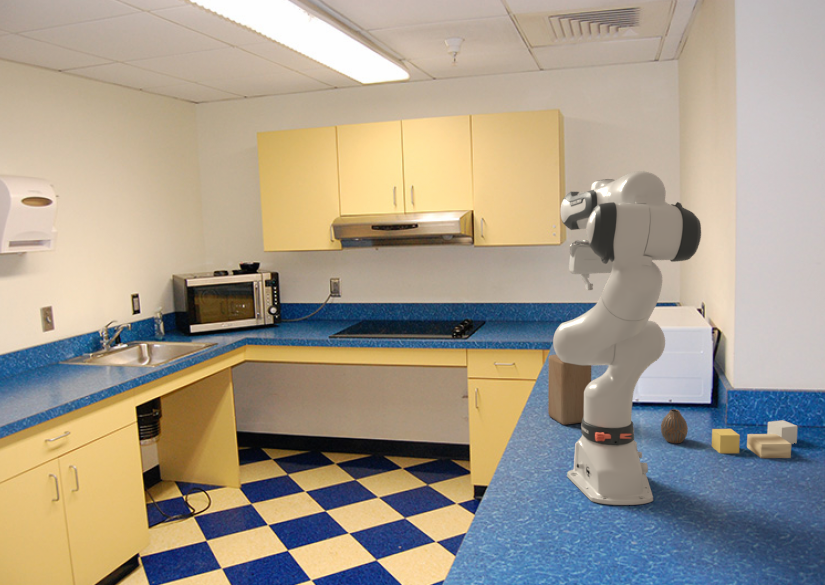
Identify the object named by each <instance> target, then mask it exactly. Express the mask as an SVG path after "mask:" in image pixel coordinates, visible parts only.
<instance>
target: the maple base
mask: <svg viewBox="0 0 825 585" xmlns="http://www.w3.org/2000/svg"><path fill="white" fill-rule="evenodd" d="M746 435H747V438H746V439H747V440H746V448H747V449H748V450H750V451H751V452H752V453H754V454H755V455H756V456H758V457H759V458H760V459H791V458H792V455H791V454H792V444H791V443H789V442H788V441H786V440H785V439H783V438H781V437H780V436H778V435H777V434H767V433H747V434H746Z"/></svg>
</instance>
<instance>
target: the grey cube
mask: <svg viewBox="0 0 825 585" xmlns="http://www.w3.org/2000/svg"><path fill="white" fill-rule="evenodd" d="M766 432H767V433H766V434H777V435H778V436H780V437H781V438H783V439H785V440H786V441H788V442H789V443H791V445H794V443H795V444H798V443H797V441H798V425H796V424H793V423H792V422H788V421H786V420H783V419H782V420H773V421H767V431H766Z"/></svg>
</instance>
